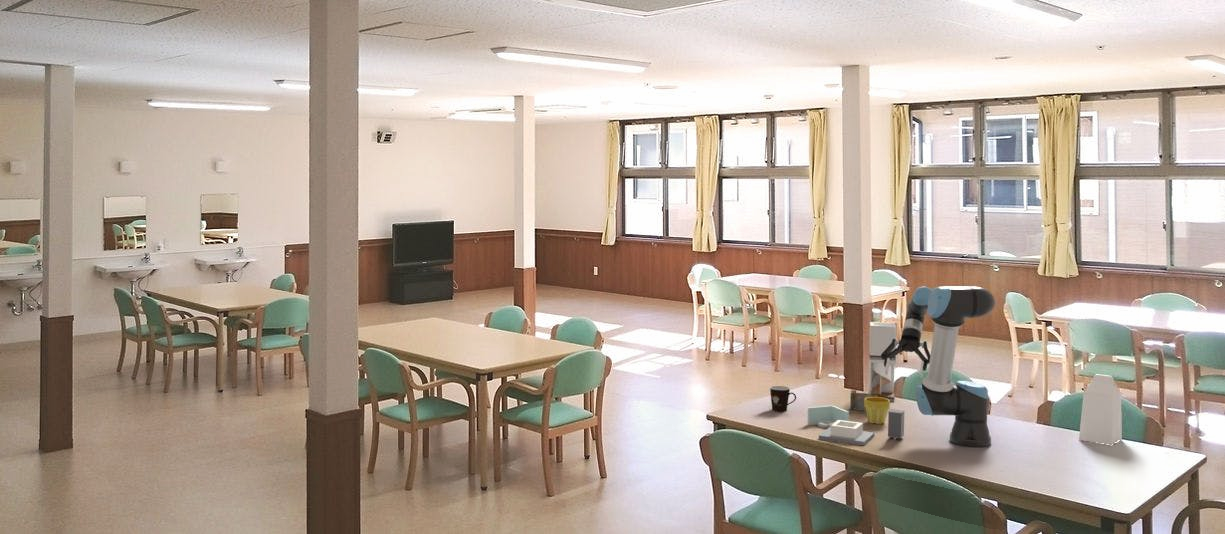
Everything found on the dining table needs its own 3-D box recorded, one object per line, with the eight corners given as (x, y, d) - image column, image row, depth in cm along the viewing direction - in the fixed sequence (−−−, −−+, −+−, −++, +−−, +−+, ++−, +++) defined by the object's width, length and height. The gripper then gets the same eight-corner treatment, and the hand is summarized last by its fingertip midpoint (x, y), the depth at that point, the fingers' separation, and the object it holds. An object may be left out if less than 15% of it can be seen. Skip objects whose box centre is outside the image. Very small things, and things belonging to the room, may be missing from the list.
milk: (1078, 440, 374) (1081, 375, 371) (1089, 434, 382) (1092, 370, 379) (1111, 446, 365) (1114, 379, 363) (1121, 440, 373) (1125, 375, 371)
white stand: (868, 400, 440) (870, 325, 437) (868, 395, 450) (870, 322, 447) (894, 401, 437) (896, 326, 434) (893, 396, 447) (895, 322, 444)
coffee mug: (765, 409, 423) (766, 386, 422) (781, 407, 427) (782, 385, 426) (780, 414, 413) (781, 392, 412) (797, 412, 417) (797, 390, 416)
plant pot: (886, 419, 405) (887, 396, 404) (891, 425, 395) (892, 402, 394) (861, 418, 406) (862, 396, 406) (865, 425, 396) (866, 402, 395)
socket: (874, 436, 379) (874, 422, 378) (864, 445, 366) (864, 431, 365) (830, 430, 388) (830, 417, 387) (818, 439, 375) (818, 425, 374)
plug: (903, 437, 377) (904, 410, 376) (900, 440, 372) (901, 413, 371) (890, 436, 379) (891, 409, 378) (887, 439, 375) (888, 411, 374)
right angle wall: (807, 425, 397) (807, 407, 397) (832, 422, 401) (832, 405, 401) (823, 432, 386) (824, 414, 385) (848, 429, 390) (849, 411, 390)
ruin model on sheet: (850, 411, 422) (850, 389, 421) (850, 409, 425) (850, 388, 424) (876, 412, 419) (877, 391, 418) (876, 411, 422) (877, 389, 421)
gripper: (944, 340, 391) (936, 383, 380) (882, 335, 403) (873, 376, 391) (942, 329, 386) (934, 372, 374) (880, 324, 398) (870, 366, 386)
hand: (903, 374), depth 383 cm, fingers open, 13 cm apart
